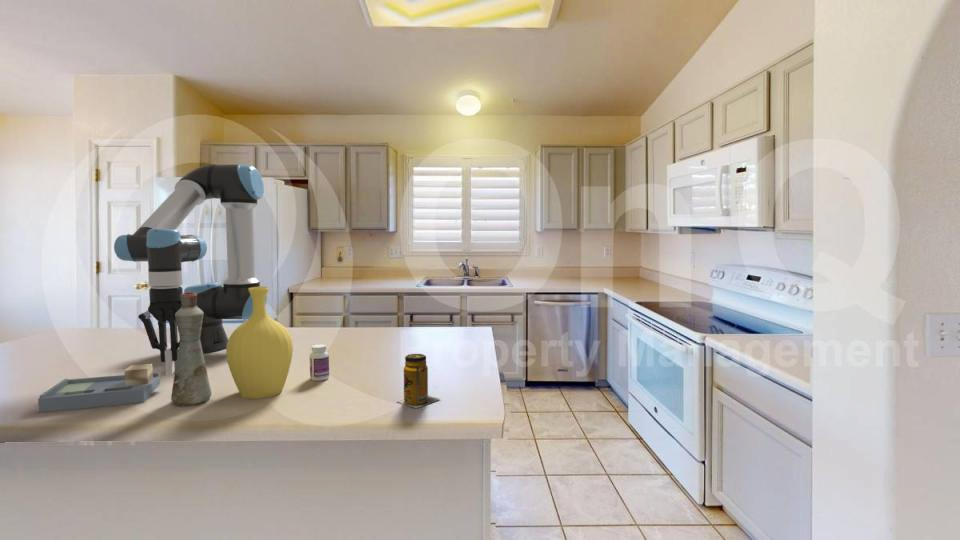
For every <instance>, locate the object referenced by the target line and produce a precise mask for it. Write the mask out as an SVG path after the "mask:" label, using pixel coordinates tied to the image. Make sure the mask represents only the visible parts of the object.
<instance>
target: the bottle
mask: <svg viewBox="0 0 960 540" xmlns="http://www.w3.org/2000/svg"><path fill="white" fill-rule="evenodd" d="M181 303H182V307H181V308H180V309H179V310H178V311H177V312H176V313H175V318H176V321H177V333H178V336H179V340H180V345H179V348H178V357H177V361H176V363H175V368H174V370H175V371H174V376H173V383H172V388H171V389H172V390H171V397H170V401H171V402H172V404H174V405H175V406H178V407H187V406H192V405H196V404H199V403H204V402H207V401H208V400H210V398H211V397H212V389H211V385H210V384H211V383H210V381H209V377H208V376H209V374H208V371H207V370H208V369H207V365H206V361H205V357H204V353H203V351H202V346H201V342H200V335H201V328H202V321H203V320H202V319H203V315H204V313H203V311H202V310H201V309H199V308H198V307H197V306H196V303H197V294H196V293H190V291H188V292H187V293H184V292H183V294H182V295H181Z"/></svg>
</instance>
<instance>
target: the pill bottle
mask: <svg viewBox="0 0 960 540" xmlns="http://www.w3.org/2000/svg"><path fill="white" fill-rule="evenodd" d="M309 375H310V376H309V379H310V380H312V381H315V382H316V381H317V382H318V381H319V382H320V381H324V380H328V379H329V378H330V355H329V353H328V352H327V345H326V344H313V345H311V353H309Z"/></svg>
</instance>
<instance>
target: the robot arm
mask: <svg viewBox="0 0 960 540" xmlns="http://www.w3.org/2000/svg"><path fill="white" fill-rule="evenodd" d="M264 192H265V188H264V182H263V179H262V175H261V174H260V172H259V170H258V168H256V167H255V166H253V165H248V164H206V165H203V166H199V167H197V168H195V169H192V170H191V171H189V172H188V173H187V174H184V175H183V176H182V178H180V179H179V180H178V181H177V182H176V183H175V185H174V191H172V193H171V194H170V195H169V196H168V197H166V199H165V200H164V201H163V202H162V203H161V204H160V205H159V206H158V208H157V209H155V211H153V212H152V214H150V216H149V217H148V218H147V219H146V220H145V221H144V222H143V223H142V225H140V227H138V229H137V230H136V231H135V232H134V233H132V234H129V233H128V234H121V235H119V236H118V237H117V238H116V239H115V241H114V244H113V250H114V254H115V255H116V257H117V258H118V259H120V261H125V262H136V263H137V262H147V268H148V269H147V271H148V274H147V275H148V286H149V287H150V288H149V289H148V292H149V305H148V307H147V310H146V311H145V312H144V311H143V312H141V313H140V314H138V317H137V318H138V319H139V321H141V322H142V324H143V326H144V329H145V332H146V334H147V338H148V340H149V344H150V347H151V348H152V350H155V349H156V350H159V352H160V353H159V354H160V361H161V363H164V364H165V375H166V376H167V375H173V373H174V374H175V362H177V357H178V351H179V345H180V339H179V338H178V336H179V333H178V327H177V321H176V318H175V313H176V312H177V311H178V310H179V309H180V308H181V307H182V303H181V295H182V294H183V293H187V292H188V291H190V293H196V294H197V303H196V306H197V307H198V308H199V309H201V310H202V311H203V313H204V315H203V319H202V320H203V321H202V328H201V335H200V342H201V346H202V351H203V354H204V353H213V352H217V351H221V350H224V349H226V348H227V343H228V340H229V338H228V336H227V333H226V331H225V328H224V325H223V320H243V321H247V320H248V319H249V318H250V317H251V315H252V312H253V300H252V297H251V294H250V292H249V290H248V289H249V288H251V287H263V286H261V284H260V283H261V282H260V280H259V279H258V278H257V277H256V273H255V272H256V270H255V267H256V266H255V240H254V239H255V237H254V235H255V234H254V232H255V231H254V208H256V206H258V200H260V199H262V198H263V196H264ZM210 199H220V203H219V204H220V205H222V207H223V208H224V209H225V223H226V224H225V226H226V227H225V229H226V231H225V232H226V258H227V259H226V260H227V261H226V262H227V278H226V279H225V280H224V281H223V282H222V283H223V285H222V283H221V282H220V281H215V282H205V283H200V284H199V283H198V284H193V285H190V286H189V285H188V286H186V287H185V288H184V289H183V287H182V285H183V270H182V263H186V262H195V261H198V260H201V259H202V258H204V257H205V256H206V254H207V251H208V246H207V243H206V241H205V240H204V239H203V238H202V237H201V236H199V235H194V234H186V235H185V234H183V235H181V232H180V230H179V229H178V227H179V226H180V225H181V224H182V223H183V222H184V220H185V219H186V218H187V217H188V216H189V215H190V213H191V212H192V211H193V210H194V209H195V207H196V206H199V205H202V204H203V203H204V202H205V201H206V200H210ZM267 298H268V294H267V295H266V298H265V306H266V305H267ZM152 317H153V318H154V319H155V320H156V321H157V325H158V337H157V333H156V331H155V328H154V325H153V322H152V320H151V318H152ZM167 322H168V324H169V334H170V335H169V337H170V348H168V346H169V345H168V339H167V338H168V337H167ZM178 339H179V340H178Z"/></svg>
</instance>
